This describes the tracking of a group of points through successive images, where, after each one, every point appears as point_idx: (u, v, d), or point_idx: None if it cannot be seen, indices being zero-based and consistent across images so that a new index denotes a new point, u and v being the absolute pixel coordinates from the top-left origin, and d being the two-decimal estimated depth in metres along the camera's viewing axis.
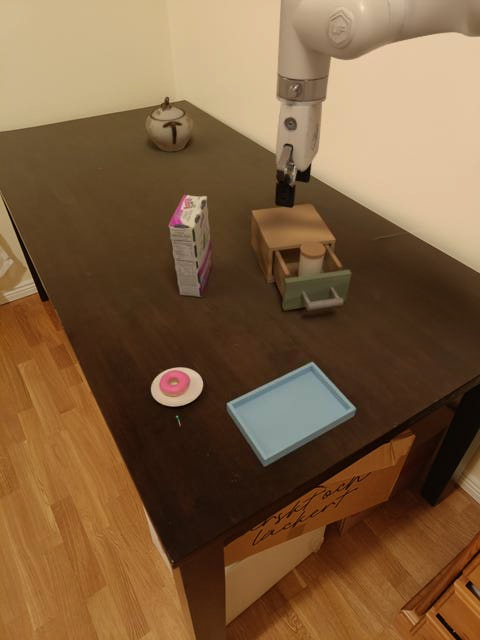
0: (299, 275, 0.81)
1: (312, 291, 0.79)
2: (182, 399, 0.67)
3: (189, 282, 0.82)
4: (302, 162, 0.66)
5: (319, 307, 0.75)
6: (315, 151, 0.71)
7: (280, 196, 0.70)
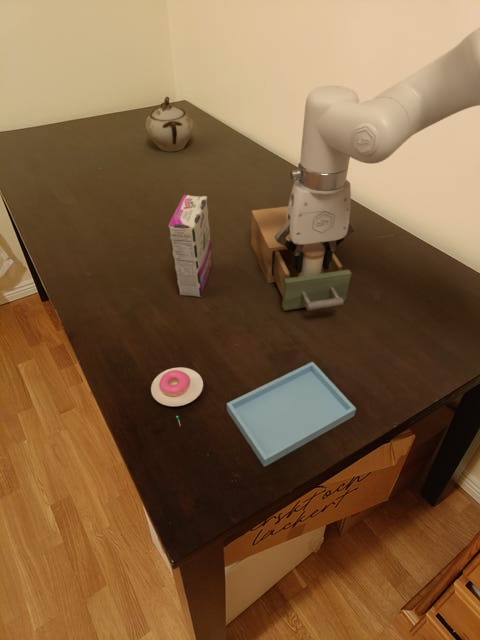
0: (299, 275, 0.81)
1: (312, 291, 0.79)
2: (182, 399, 0.67)
3: (189, 282, 0.82)
4: (293, 236, 0.72)
5: (319, 307, 0.75)
6: (330, 236, 0.73)
7: (292, 259, 0.79)
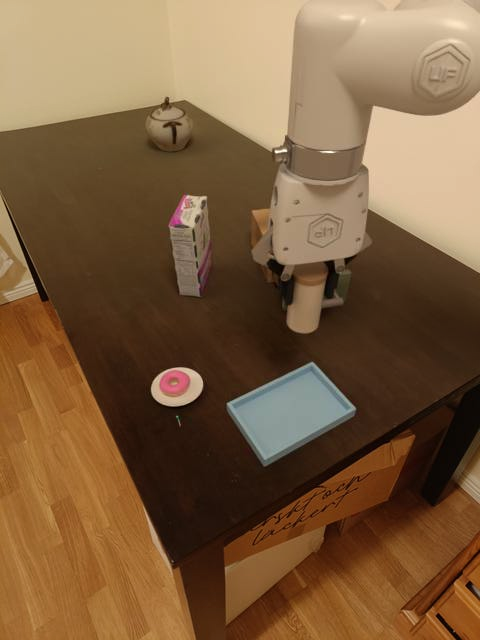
0: (289, 307, 0.55)
1: None
2: (182, 399, 0.67)
3: (189, 282, 0.82)
4: (277, 252, 0.46)
5: None
6: (335, 252, 0.47)
7: (278, 284, 0.53)
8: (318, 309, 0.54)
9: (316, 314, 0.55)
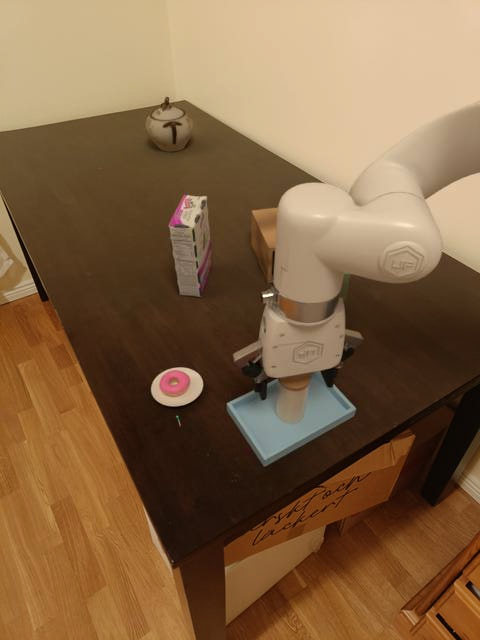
0: (278, 403, 0.62)
1: None
2: (182, 399, 0.67)
3: (189, 282, 0.82)
4: (266, 369, 0.53)
5: None
6: (317, 366, 0.54)
7: (253, 381, 0.59)
8: (303, 406, 0.61)
9: (302, 409, 0.62)
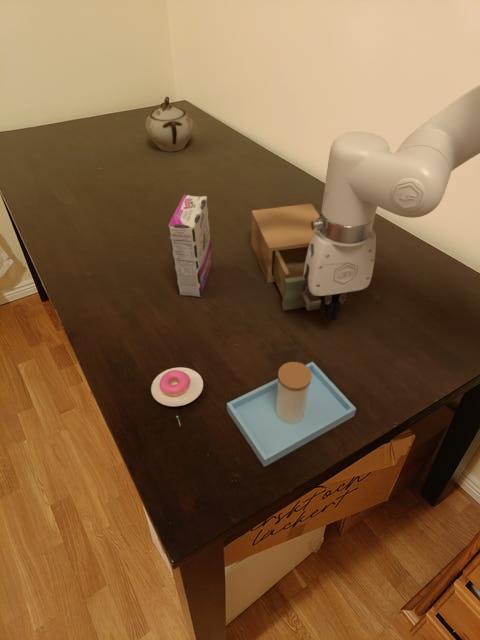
0: (278, 403, 0.62)
1: None
2: (182, 399, 0.67)
3: (189, 282, 0.82)
4: (312, 287, 0.66)
5: (319, 306, 0.75)
6: (352, 287, 0.67)
7: (321, 306, 0.74)
8: (303, 406, 0.61)
9: (302, 409, 0.62)
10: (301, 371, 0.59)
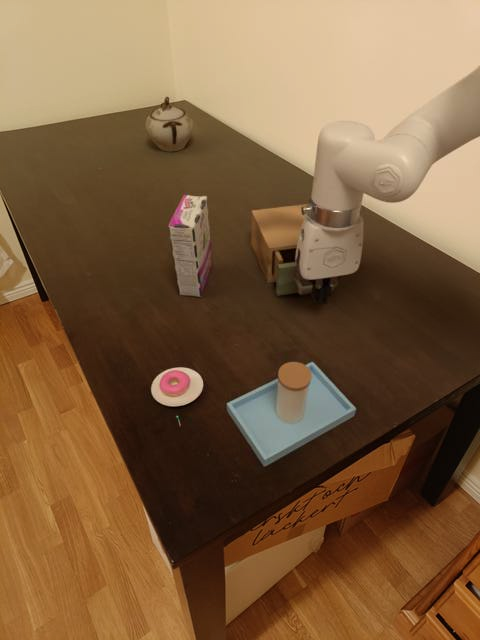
0: (278, 403, 0.62)
1: None
2: (182, 399, 0.67)
3: (189, 282, 0.82)
4: (303, 271, 0.69)
5: (310, 291, 0.79)
6: (341, 271, 0.71)
7: (312, 290, 0.77)
8: (303, 406, 0.61)
9: (302, 409, 0.62)
10: (301, 371, 0.59)
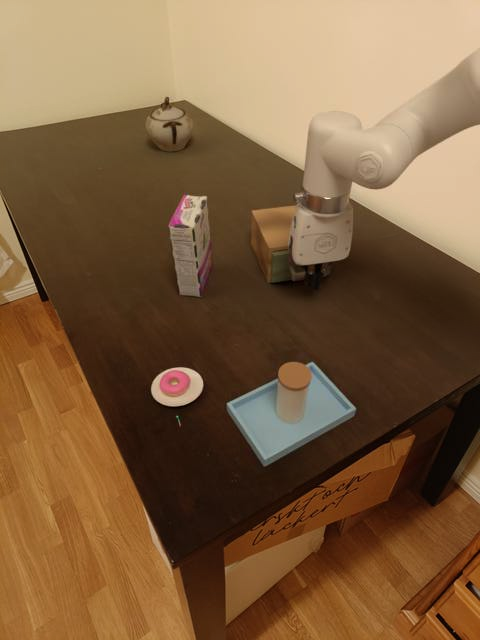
0: (278, 403, 0.62)
1: None
2: (182, 399, 0.67)
3: (189, 282, 0.82)
4: (295, 257, 0.72)
5: (303, 277, 0.81)
6: (332, 257, 0.74)
7: (305, 277, 0.80)
8: (303, 406, 0.61)
9: (302, 409, 0.62)
10: (301, 371, 0.59)
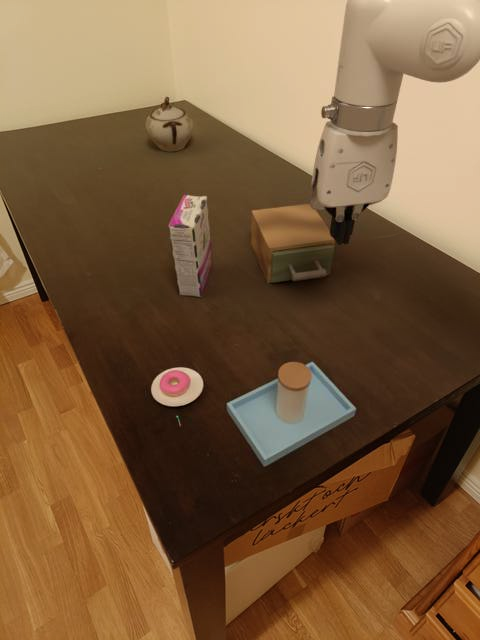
0: (278, 403, 0.62)
1: (298, 264, 0.85)
2: (182, 399, 0.67)
3: (189, 282, 0.82)
4: (322, 195, 0.57)
5: (303, 277, 0.81)
6: (368, 196, 0.58)
7: (331, 227, 0.64)
8: (303, 406, 0.61)
9: (302, 409, 0.62)
10: (301, 371, 0.59)
